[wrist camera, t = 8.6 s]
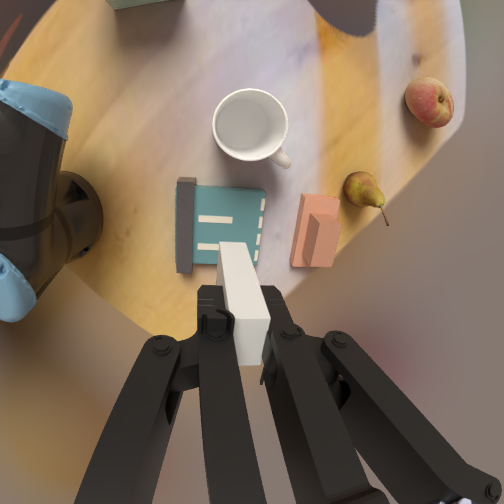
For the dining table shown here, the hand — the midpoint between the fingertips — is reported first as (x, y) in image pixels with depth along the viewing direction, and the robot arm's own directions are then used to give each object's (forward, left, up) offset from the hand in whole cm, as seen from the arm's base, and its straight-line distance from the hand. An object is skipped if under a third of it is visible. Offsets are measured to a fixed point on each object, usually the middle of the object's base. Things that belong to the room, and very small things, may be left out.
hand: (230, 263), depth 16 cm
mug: (+4, +7, -27) cm, 28 cm away
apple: (+32, +19, -27) cm, 46 cm away
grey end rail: (-5, -8, -26) cm, 28 cm away
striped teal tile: (0, -8, -26) cm, 27 cm away
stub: (+16, -8, -26) cm, 32 cm away
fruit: (+22, +1, -27) cm, 34 cm away
